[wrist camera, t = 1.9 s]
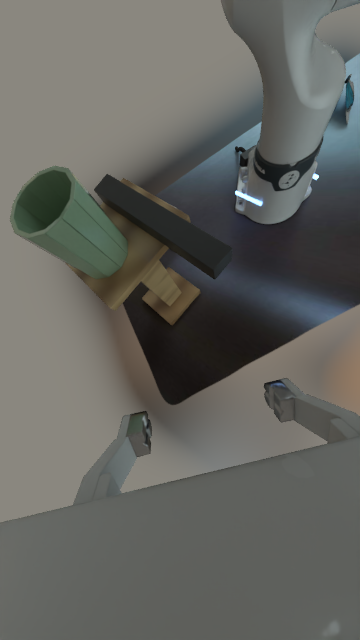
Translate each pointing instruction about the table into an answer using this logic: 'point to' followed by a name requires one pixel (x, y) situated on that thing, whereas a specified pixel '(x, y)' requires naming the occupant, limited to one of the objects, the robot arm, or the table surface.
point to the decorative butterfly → (349, 96)
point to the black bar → (166, 227)
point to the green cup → (68, 223)
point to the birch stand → (144, 269)
